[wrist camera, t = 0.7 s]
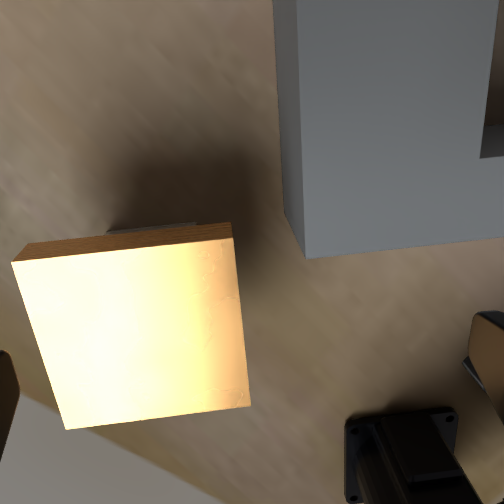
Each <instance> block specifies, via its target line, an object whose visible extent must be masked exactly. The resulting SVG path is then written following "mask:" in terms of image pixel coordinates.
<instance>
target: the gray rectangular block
mask: <svg viewBox="0 0 504 504" xmlns="http://www.w3.org/2000/svg"><path fill="white" fill-rule="evenodd" d="M498 5H499V0H273V17H274V35H275V54H276V72H277V90H278V108H279V127H280V145H281V163H282V181H283V200H284V213H285V215H286V218H287V220H288V222H289V224H290V226H291V228H292V231H293V233H294V235H295V237H296V239H297V241H298V244H299V246H300V248H301V250H302V252H303V254H304V257H305V259H312V258H321V257H330V256H339V255H348V254H356V253H365V252H374V251H383V250H392V249H401V248H410V247H419V246H428V245H436V244H445V243H454V242H463V241H472V240H481V239H490V238H499V237H504V124H499V125H489V126H484V118H485V110H486V102H487V94H488V86H489V78H490V70H491V62H492V54H493V46H494V38H495V30H496V22H497V13H498Z"/></svg>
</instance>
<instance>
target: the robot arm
mask: <svg viewBox="0 0 504 504" xmlns="http://www.w3.org/2000/svg"><path fill="white" fill-rule="evenodd" d="M468 354H469V358H470V360H471V362H472V364H473V366H474V368H475V370H476V372H477V374H478V376H479V378H480V380H481V382H482V384H483V386H484V388H485V390H486V392H487V394H488V396H489V398H490V400H491V402H492V404H493V406H494V408H495V410H496V412H497V414H498V416H499V417H500V419H501V421H502V423H503V425H504V313H503V312H500V311H495V310H493V311H481V312H477V313H476V314H475V315H474V317H473V320H472V325H471V331H470V337H469V343H468ZM19 397H20V385H19V381H18V378H17V375H16V371H15V368H14V365H13V361H12V358H11V356H10V354H9V352H7V351H5V350H0V461H1V458H2V454H3V451H4V448H5V444H6V441H7V438H8V434H9V431H10V427H11V424H12V421H13V417H14V414H15V411H16V407H17V404H18V401H19ZM457 425H458V414H457V413H456V411H455V410H454V409H453V408H451V407H445V408H437V409H430V410H422V411H414V412H407V413H399V414H391V415H384V416H376V417H368V418H360V419H353V420H350V421H348V422H347V423H346V424H345V427H344V495H345V498H346V501H347V502H348V503H349V504H357V503H364V504H483V503H482V501H481V499H480V498H479V496H478V494H477V493H476V491H475V489H474V488H473V486H472V484H471V483H470V481H469V479H468V478H467V476H466V474H465V473H464V471H463V469H462V467H461V466H460V464H459V463H458V461H457V459H456V458H455V456H454V447H455V439H456V432H457ZM353 428H355V429H353ZM497 504H504V498H503V501H502V502H500V503H497Z"/></svg>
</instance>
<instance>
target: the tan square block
mask: <svg viewBox="0 0 504 504" xmlns="http://www.w3.org/2000/svg"><path fill="white" fill-rule="evenodd" d="M11 263H12V266H13V269H14V272H15V275H16V278H17V281H18V284H19V287H20V291H21V294H22V297H23V300H24V303H25V306H26V309H27V312H28V315H29V318H30V321H31V324H32V327H33V330H34V333H35V336H36V339H37V342H38V345H39V348H40V351H41V354H42V357H43V361H44V364H45V367H46V370H47V373H48V376H49V379H50V382H51V385H52V388H53V391H54V394H55V397H56V400H57V403H58V406H59V409H60V412H61V415H62V418H63V421H64V424H65V428H66V429H73V428H80V427H88V426H96V425H104V424H112V423H120V422H128V421H135V420H143V419H151V418H159V417H167V416H175V415H183V414H190V413H198V412H206V411H214V410H222V409H230V408H238V407H245V406H251V403H250V393H249V384H248V374H247V365H246V355H245V346H244V336H243V327H242V318H241V308H240V299H239V289H238V280H237V270H236V261H235V251H234V242H233V234H232V227H231V222H224V223H215V224H206V225H197V224H196V222H189V223H179V224H170V225H161V226H151V227H142V228H133V229H123V230H114V231H106V233H105V235H103V236H94V237H85V238H76V239H66V240H57V241H48V242H38V243H29V244H27V245H26V246H25V247H24V249H23V250H22V251H21V252H20V253H19V254H18V255H17V256H16V258H15V259H14V260H13V261H12V262H11Z"/></svg>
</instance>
